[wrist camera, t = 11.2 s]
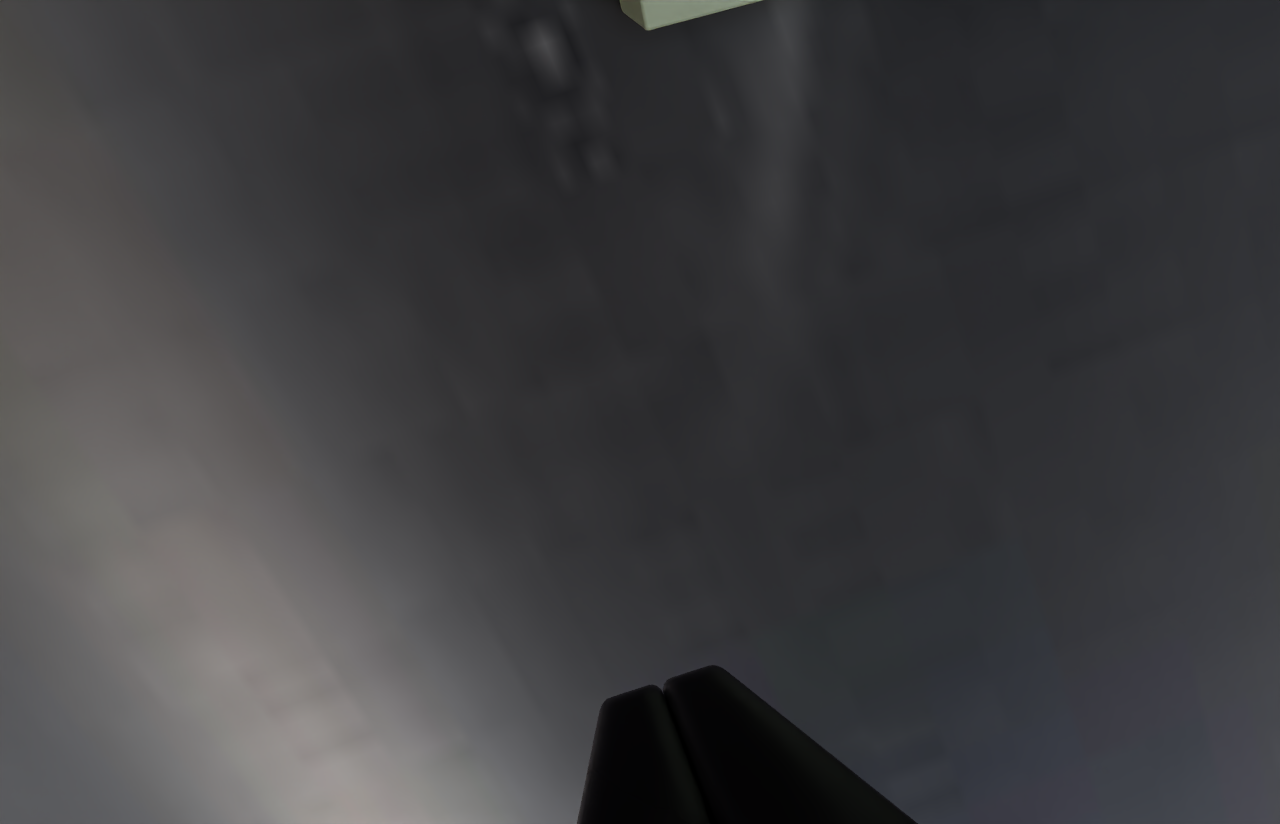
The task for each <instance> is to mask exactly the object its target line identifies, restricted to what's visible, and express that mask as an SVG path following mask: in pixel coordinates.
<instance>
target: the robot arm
mask: <svg viewBox="0 0 1280 824" xmlns="http://www.w3.org/2000/svg"><path fill="white" fill-rule="evenodd" d="M577 824H918V823H916V822H915V821H914V820H913V819H911V818H910V817H909V816H908V815H906V814H905V813H904V812H903V811H901V810H900V809H899V808H898V807H896V806H895V805H894V804H893V803H891V802H890V801H889V800H888V799H886V798H885V797H884V796H883V795H881V794H880V793H879V792H878V791H876V790H875V789H874V788H873V787H871V786H870V785H869V784H868V783H866V782H865V781H864V780H863V779H861V778H860V777H859V776H858V775H856V774H855V773H854V772H853V771H851V770H850V769H849V768H847V767H846V766H845V765H844V764H842V763H841V762H840V761H839V760H837V759H836V758H835V757H834V756H832V755H831V754H830V753H829V752H827V751H826V750H825V749H824V748H822V747H821V746H820V745H819V744H817V743H816V742H815V741H814V740H812V739H811V738H810V737H809V736H807V735H806V734H805V733H804V732H802V731H801V730H800V729H799V728H797V727H796V726H795V725H794V724H792V723H791V722H790V721H789V720H787V719H786V718H785V717H784V716H782V715H781V714H780V713H779V712H777V711H776V710H775V709H774V708H772V707H771V706H770V705H769V704H767V703H766V702H765V701H764V700H762V699H761V698H760V697H759V696H757V695H756V694H755V693H754V692H752V691H751V690H750V689H749V688H747V687H746V686H745V685H744V684H742V683H741V682H740V681H739V680H737V679H736V678H735V677H734V676H732V675H731V674H730V673H729V672H727V671H726V670H724V669H723V668H721V667H719V666H715V665H711V666H707V667H704V668H700V669H697V670H694V671H691V672H688V673H685V674H682V675H679V676H676V677H672V678H670V679H668V680H667V681H666V682H665V683H664V686H663V692H662V691H661V689H660V688H659V687H658V686H655V685H648V686H645V687H641V688H638V689H635V690H632V691H629V692H626V693H623V694H620V695H617V696H614V697H611V698H608V699H606V700H605V702H604V703H603V704H602V706H601V708H600V711H599V716H598V721H597V726H596V731H595V736H594V741H593V746H592V751H591V756H590V761H589V766H588V771H587V776H586V781H585V786H584V791H583V796H582V801H581V806H580V811H579V816H578V821H577Z"/></svg>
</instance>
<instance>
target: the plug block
mask: <svg viewBox="0 0 1280 824" xmlns="http://www.w3.org/2000/svg"><path fill="white" fill-rule="evenodd" d="M758 1H762V0H620V5H621V10H622V11H623V13H625V14H626V15H627V16H629V17H630V18H631V19H632V20H634V21H635V22H636V23H638V24H639V25H640V26H641V27H643V28H644V29H645V30H653V29H657V28H660V27H664V26H668V25H672V24H675V23H679V22H683V21H687V20H690V19H694V18H698V17H702V16H705V15H709V14H713V13H717V12H720V11H724V10H728V9H732V8H735V7H739V6H743V5H747V4H751V3H754V2H758Z"/></svg>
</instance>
